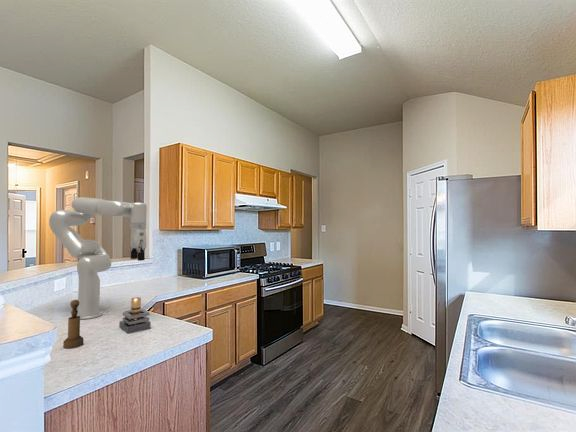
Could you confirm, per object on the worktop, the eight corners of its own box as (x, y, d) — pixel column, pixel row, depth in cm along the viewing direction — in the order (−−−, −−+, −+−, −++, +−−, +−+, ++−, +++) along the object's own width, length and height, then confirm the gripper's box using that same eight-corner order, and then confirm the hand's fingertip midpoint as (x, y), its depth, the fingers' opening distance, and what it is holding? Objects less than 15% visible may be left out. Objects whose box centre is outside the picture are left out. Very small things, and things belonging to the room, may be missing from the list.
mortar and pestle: (60, 349, 119) (61, 302, 120) (67, 343, 125) (68, 298, 126) (80, 347, 121) (81, 301, 121) (85, 341, 127) (87, 297, 128)
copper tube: (138, 320, 147) (139, 296, 147) (141, 322, 144) (142, 298, 144) (129, 322, 144) (130, 298, 144) (132, 324, 141) (133, 299, 141)
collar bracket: (119, 327, 145) (119, 311, 145) (141, 323, 152) (141, 307, 152) (127, 333, 137) (128, 316, 137) (150, 328, 144) (150, 312, 144)
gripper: (152, 226, 156) (151, 260, 156) (139, 226, 169) (138, 257, 168) (136, 226, 151) (135, 261, 151) (124, 226, 163) (123, 258, 163)
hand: (137, 259), depth 159 cm, fingers open, 9 cm apart
